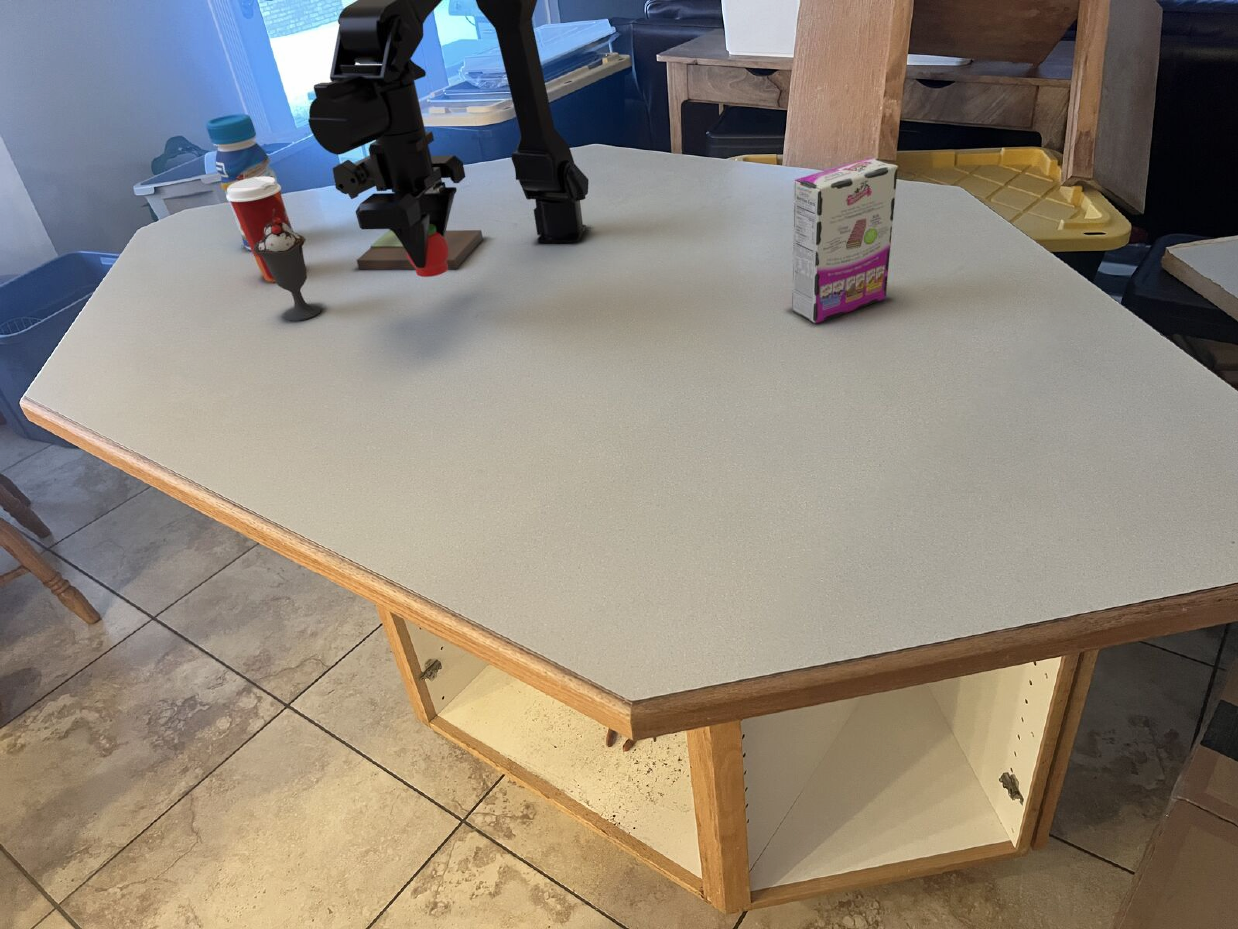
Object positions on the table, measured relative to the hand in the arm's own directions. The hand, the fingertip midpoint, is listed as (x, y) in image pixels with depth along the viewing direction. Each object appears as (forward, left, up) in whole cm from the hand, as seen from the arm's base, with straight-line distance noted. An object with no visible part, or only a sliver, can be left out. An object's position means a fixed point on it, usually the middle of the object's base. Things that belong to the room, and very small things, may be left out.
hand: (429, 258), depth 103 cm
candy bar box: (-50, -6, -9) cm, 51 cm away
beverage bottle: (+43, -28, -9) cm, 52 cm away
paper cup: (+33, -15, -9) cm, 37 cm away
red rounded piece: (0, 0, -2) cm, 2 cm away
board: (+13, -23, -9) cm, 28 cm away
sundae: (+22, -2, -9) cm, 24 cm away
